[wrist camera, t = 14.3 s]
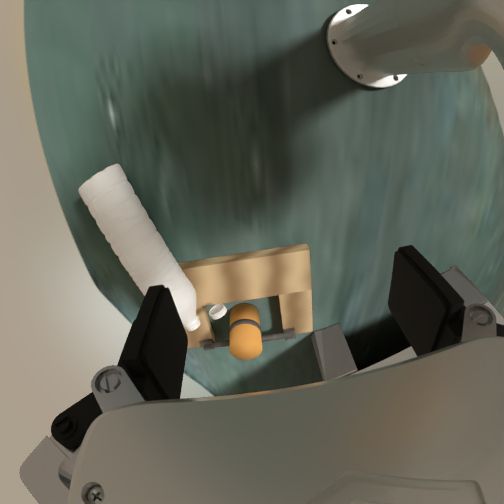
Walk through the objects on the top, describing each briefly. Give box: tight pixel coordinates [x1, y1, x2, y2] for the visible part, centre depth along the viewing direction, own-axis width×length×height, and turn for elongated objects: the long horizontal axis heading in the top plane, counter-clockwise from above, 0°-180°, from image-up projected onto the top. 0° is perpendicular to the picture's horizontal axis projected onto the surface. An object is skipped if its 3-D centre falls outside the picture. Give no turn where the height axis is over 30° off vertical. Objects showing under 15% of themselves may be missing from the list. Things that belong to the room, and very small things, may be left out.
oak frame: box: [178, 244, 313, 350], centre depth 45 cm, size 22×16×3 cm
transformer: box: [311, 266, 504, 381], centre depth 38 cm, size 34×33×41 cm
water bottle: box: [78, 164, 227, 331], centre depth 37 cm, size 9×6×25 cm
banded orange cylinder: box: [229, 303, 262, 359], centre depth 45 cm, size 5×5×8 cm
